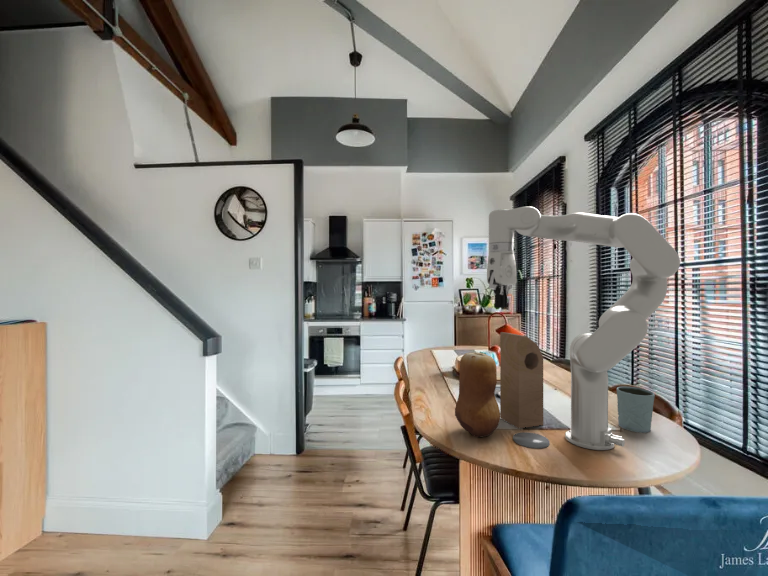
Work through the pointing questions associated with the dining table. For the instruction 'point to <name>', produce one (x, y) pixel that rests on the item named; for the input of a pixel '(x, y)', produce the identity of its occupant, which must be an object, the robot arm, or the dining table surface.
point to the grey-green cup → (635, 408)
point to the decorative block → (520, 381)
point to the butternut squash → (477, 395)
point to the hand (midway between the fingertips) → (501, 307)
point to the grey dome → (531, 440)
